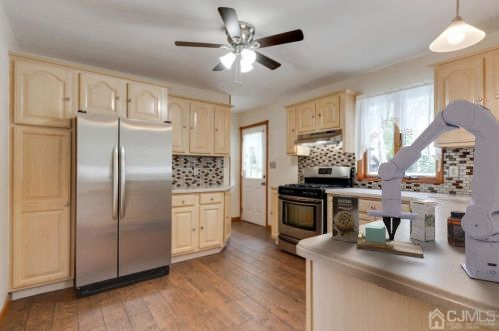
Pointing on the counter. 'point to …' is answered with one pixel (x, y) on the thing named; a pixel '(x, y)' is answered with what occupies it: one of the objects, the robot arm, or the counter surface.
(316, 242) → the counter surface
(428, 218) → the syrup box
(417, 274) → the counter surface
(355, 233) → the cookie box
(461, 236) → the supplement bottle
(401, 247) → the slide board
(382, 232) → the teal block
